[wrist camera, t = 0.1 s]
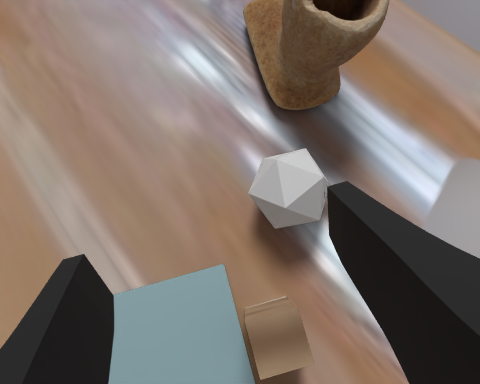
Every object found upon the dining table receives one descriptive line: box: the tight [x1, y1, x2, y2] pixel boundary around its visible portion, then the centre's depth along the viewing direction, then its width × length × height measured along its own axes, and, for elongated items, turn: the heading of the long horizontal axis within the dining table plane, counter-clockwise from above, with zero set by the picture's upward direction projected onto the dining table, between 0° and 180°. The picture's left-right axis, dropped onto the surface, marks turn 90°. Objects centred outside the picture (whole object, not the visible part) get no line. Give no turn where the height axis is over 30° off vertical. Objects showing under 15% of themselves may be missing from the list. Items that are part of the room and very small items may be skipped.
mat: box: [108, 264, 255, 384], centre depth 40 cm, size 16×16×1 cm
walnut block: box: [245, 297, 314, 380], centre depth 36 cm, size 5×5×9 cm
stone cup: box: [243, 0, 389, 110], centre depth 39 cm, size 15×12×15 cm
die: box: [248, 148, 330, 229], centre depth 39 cm, size 8×9×10 cm
